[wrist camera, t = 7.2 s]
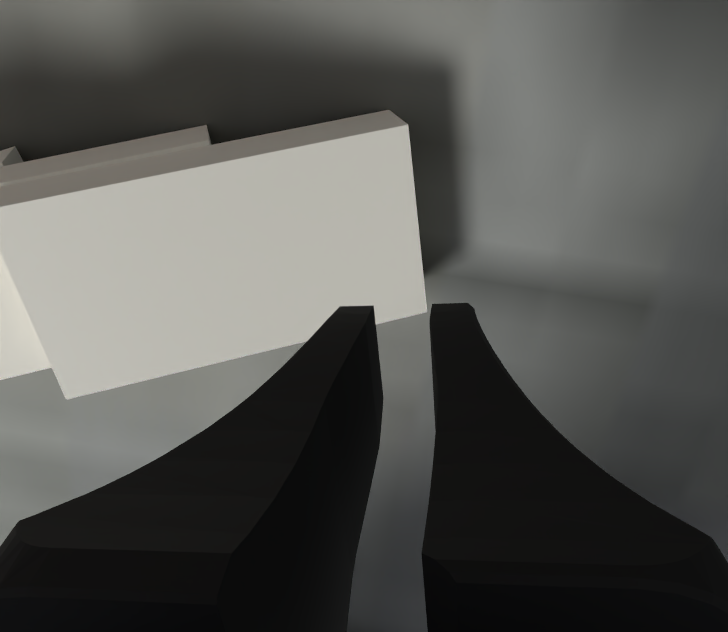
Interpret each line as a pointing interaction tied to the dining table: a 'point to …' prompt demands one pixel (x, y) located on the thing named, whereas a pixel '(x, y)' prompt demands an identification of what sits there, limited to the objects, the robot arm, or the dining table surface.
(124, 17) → the dining table surface
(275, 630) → the robot arm
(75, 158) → the domino
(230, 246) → the domino
